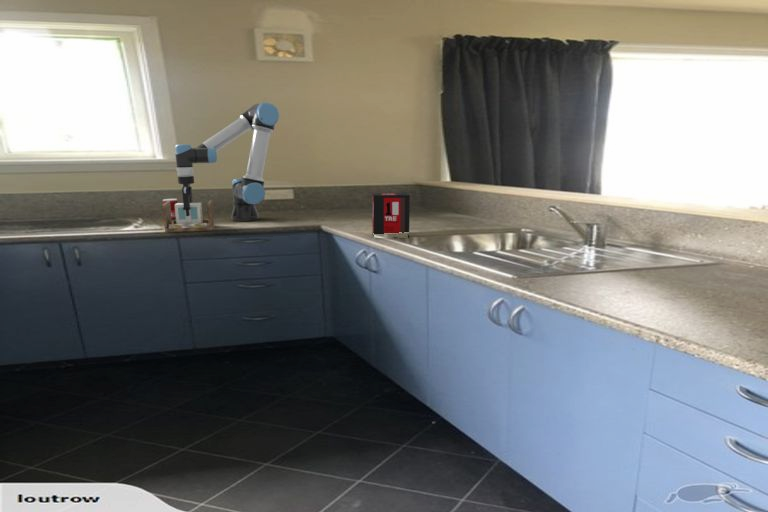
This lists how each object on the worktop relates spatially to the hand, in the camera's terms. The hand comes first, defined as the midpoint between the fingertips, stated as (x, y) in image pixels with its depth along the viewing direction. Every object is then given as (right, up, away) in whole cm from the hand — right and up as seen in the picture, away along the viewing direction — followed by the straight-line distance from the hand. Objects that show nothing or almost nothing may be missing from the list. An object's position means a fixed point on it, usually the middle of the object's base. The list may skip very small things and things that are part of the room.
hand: (189, 221), depth 256 cm
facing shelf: (0, -4, +1) cm, 4 cm away
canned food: (-24, +4, +34) cm, 41 cm away
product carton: (0, -1, 0) cm, 1 cm away
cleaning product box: (+103, -9, -20) cm, 105 cm away
